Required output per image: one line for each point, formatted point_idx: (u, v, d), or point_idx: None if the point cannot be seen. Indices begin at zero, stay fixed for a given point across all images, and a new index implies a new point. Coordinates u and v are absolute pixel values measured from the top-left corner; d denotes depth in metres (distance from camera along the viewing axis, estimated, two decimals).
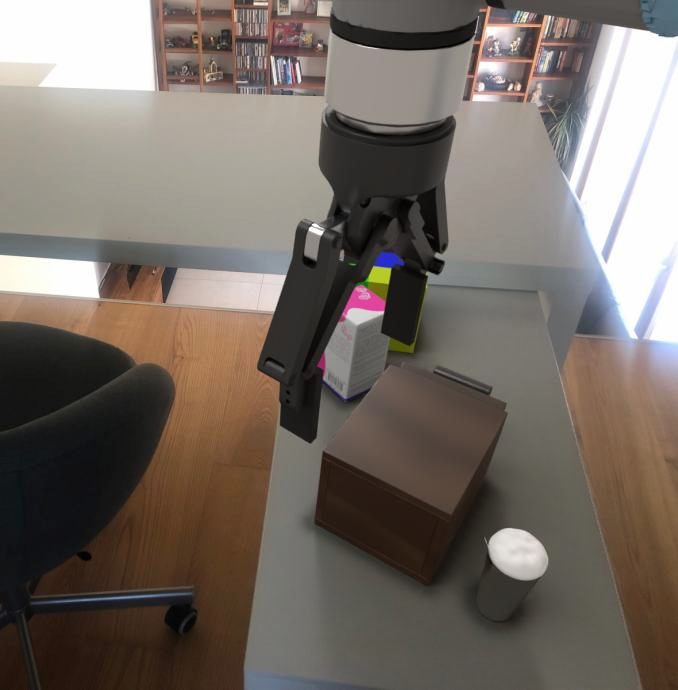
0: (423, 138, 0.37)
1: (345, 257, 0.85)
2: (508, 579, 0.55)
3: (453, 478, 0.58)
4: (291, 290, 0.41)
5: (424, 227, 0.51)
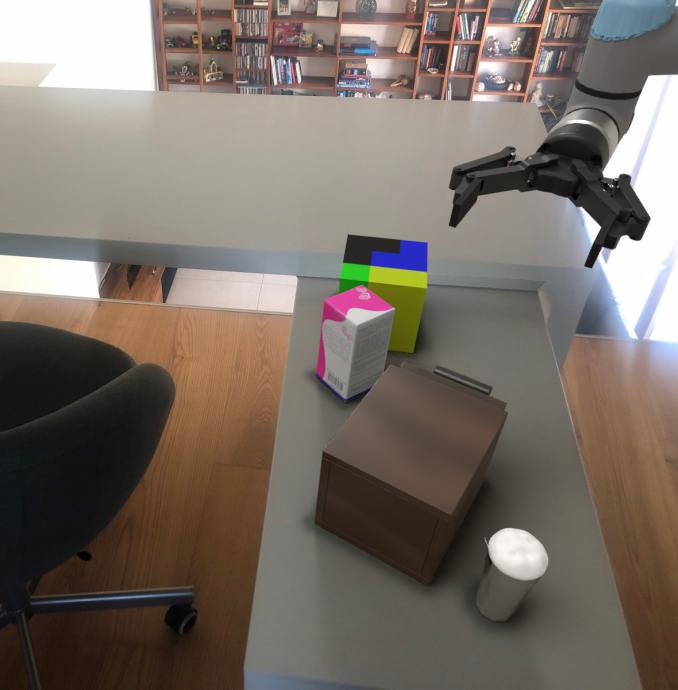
0: (567, 126, 0.81)
1: (345, 257, 0.85)
2: (508, 579, 0.55)
3: (453, 478, 0.58)
4: None
5: None
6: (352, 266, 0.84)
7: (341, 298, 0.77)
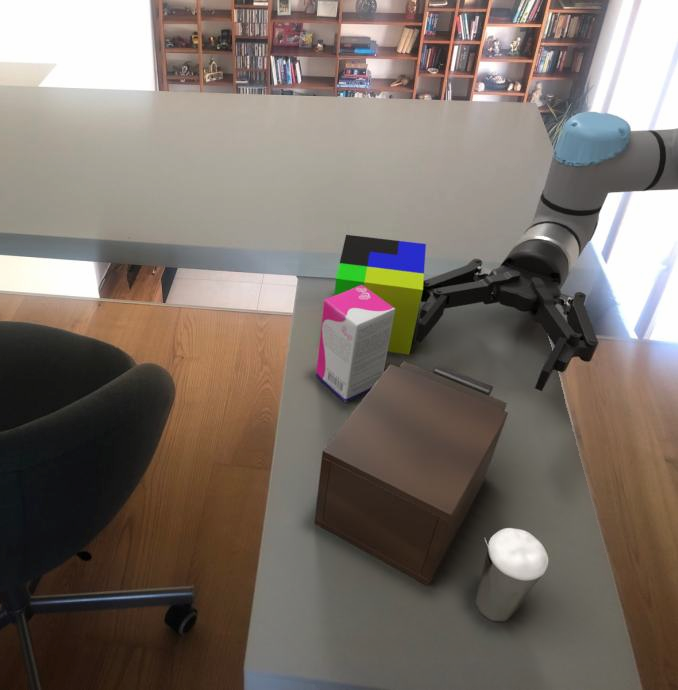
0: (530, 241, 0.87)
1: (342, 257, 0.85)
2: (508, 579, 0.55)
3: (453, 478, 0.58)
4: None
5: None
6: (349, 267, 0.84)
7: (341, 298, 0.77)
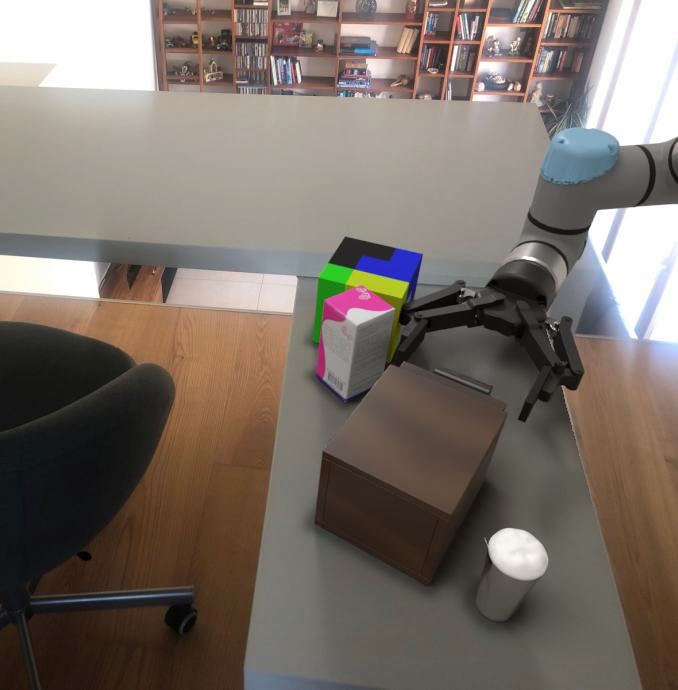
0: (516, 262, 0.84)
1: (332, 258, 0.85)
2: (508, 579, 0.55)
3: (453, 478, 0.58)
4: None
5: (563, 361, 0.75)
6: (335, 267, 0.83)
7: (341, 298, 0.77)
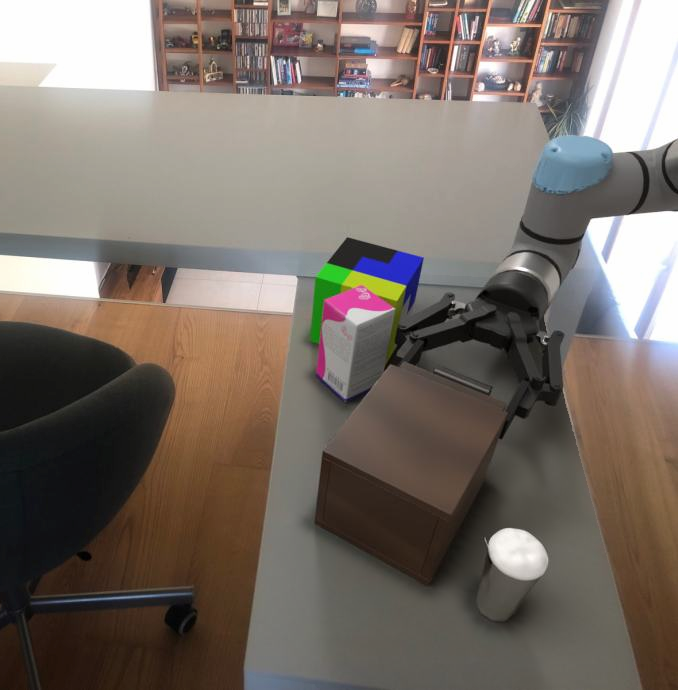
0: (508, 272, 0.82)
1: (332, 258, 0.85)
2: (508, 579, 0.55)
3: (453, 478, 0.58)
4: None
5: (546, 375, 0.73)
6: (334, 268, 0.83)
7: (341, 298, 0.77)
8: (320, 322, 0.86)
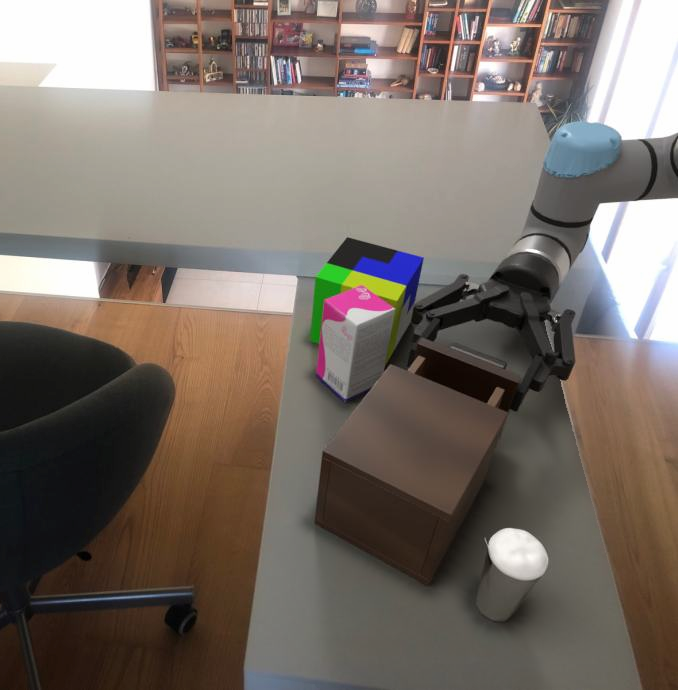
0: (519, 254, 0.85)
1: (332, 258, 0.85)
2: (508, 579, 0.55)
3: (453, 478, 0.58)
4: None
5: (558, 351, 0.76)
6: (334, 268, 0.83)
7: (341, 298, 0.77)
8: (320, 322, 0.86)
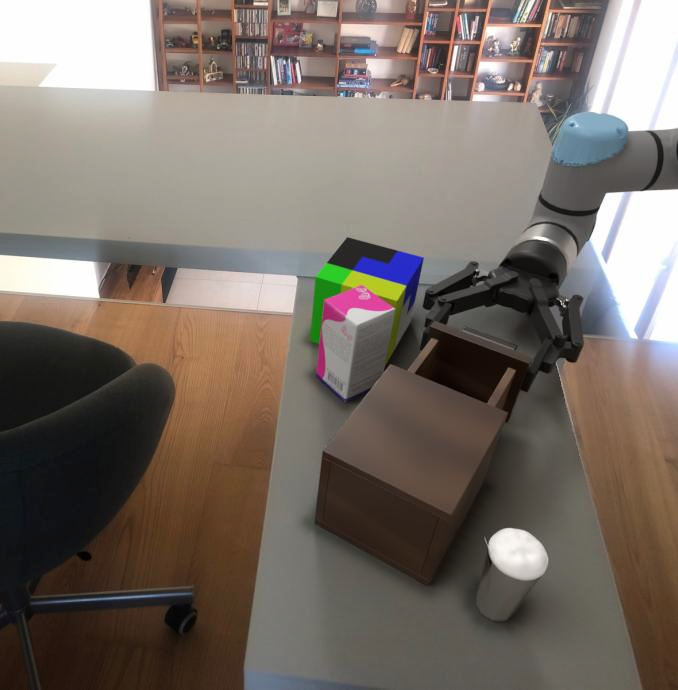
0: (528, 242, 0.87)
1: (332, 258, 0.85)
2: (508, 579, 0.55)
3: (453, 478, 0.58)
4: None
5: (567, 335, 0.78)
6: (334, 268, 0.83)
7: (341, 298, 0.77)
8: (320, 322, 0.86)
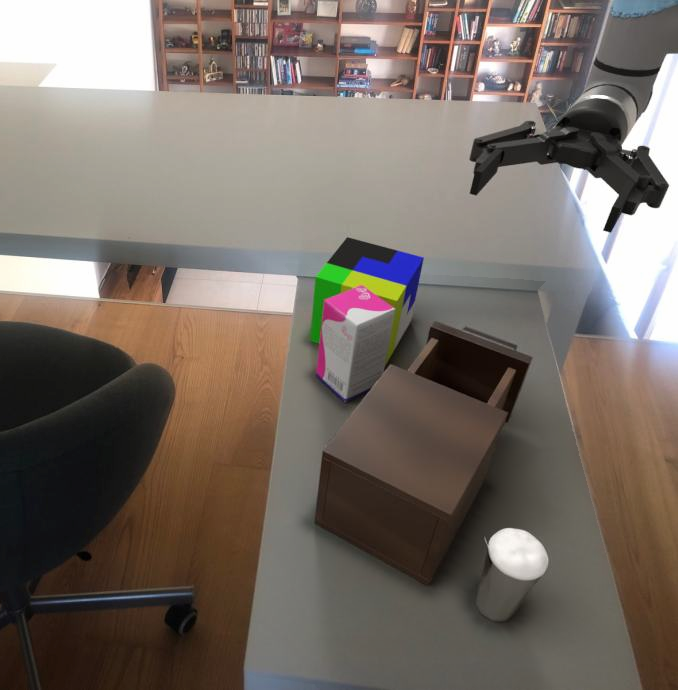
0: (586, 101, 0.82)
1: (332, 258, 0.85)
2: (508, 579, 0.55)
3: (453, 478, 0.58)
4: None
5: None
6: (334, 268, 0.83)
7: (341, 298, 0.77)
8: (320, 322, 0.86)
